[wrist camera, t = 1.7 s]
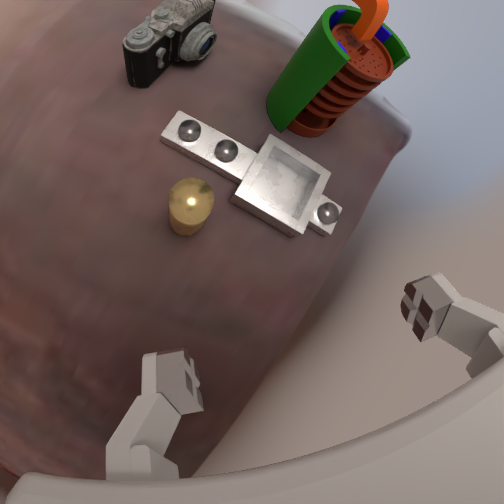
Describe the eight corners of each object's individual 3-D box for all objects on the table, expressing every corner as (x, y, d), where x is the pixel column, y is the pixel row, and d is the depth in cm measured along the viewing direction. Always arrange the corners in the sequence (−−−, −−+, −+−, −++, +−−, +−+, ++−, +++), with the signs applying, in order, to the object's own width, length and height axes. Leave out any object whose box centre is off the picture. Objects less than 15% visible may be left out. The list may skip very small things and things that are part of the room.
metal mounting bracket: (150, 157, 31) (148, 146, 28) (188, 104, 32) (190, 90, 29) (316, 252, 35) (329, 250, 32) (341, 195, 36) (355, 189, 33)
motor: (297, 153, 35) (403, 60, 16) (249, 99, 34) (317, -21, 15) (345, 118, 37) (444, 39, 18) (303, 70, 36) (379, -25, 17)
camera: (164, 104, 31) (164, 51, 22) (121, 82, 30) (112, 28, 21) (230, 37, 34) (248, -13, 25) (192, 19, 33) (201, -32, 23)
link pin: (163, 226, 31) (160, 208, 22) (180, 197, 31) (183, 169, 23) (192, 242, 31) (200, 230, 23) (208, 213, 32) (222, 191, 23)
